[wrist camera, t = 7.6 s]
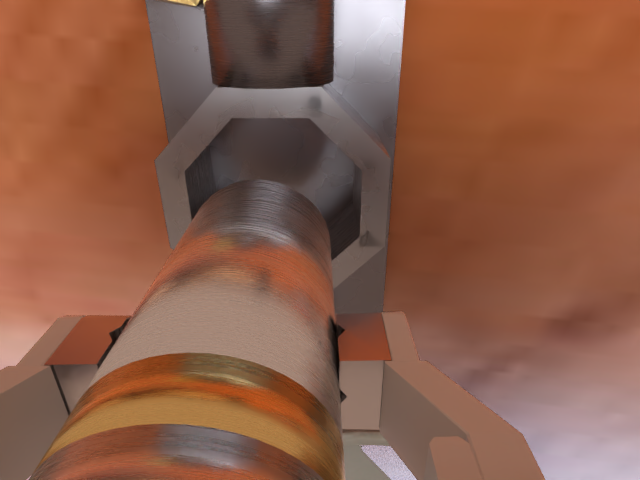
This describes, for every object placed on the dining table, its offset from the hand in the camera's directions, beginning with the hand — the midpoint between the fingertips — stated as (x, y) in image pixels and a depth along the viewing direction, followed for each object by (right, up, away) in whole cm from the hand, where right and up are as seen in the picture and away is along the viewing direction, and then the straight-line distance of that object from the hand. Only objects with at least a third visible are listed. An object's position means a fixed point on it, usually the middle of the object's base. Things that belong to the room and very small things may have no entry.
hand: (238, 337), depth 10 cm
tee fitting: (0, +6, +11) cm, 12 cm away
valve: (0, +2, +4) cm, 4 cm away
